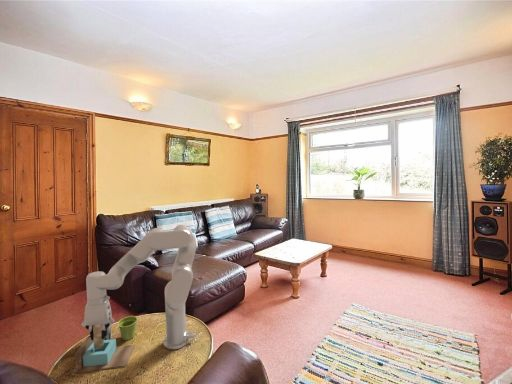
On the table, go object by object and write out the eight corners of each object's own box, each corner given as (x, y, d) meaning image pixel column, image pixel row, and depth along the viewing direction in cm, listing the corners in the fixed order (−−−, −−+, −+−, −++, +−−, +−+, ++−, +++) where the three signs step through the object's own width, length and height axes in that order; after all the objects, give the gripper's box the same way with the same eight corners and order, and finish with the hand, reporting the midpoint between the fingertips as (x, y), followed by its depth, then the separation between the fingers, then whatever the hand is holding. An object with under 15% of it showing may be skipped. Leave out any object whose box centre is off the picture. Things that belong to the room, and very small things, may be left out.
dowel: (105, 343, 121) (104, 318, 120) (101, 348, 117) (100, 323, 116) (96, 343, 120) (95, 319, 119) (92, 349, 116) (91, 324, 115)
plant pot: (139, 338, 134) (139, 322, 133) (119, 345, 129) (118, 328, 128) (136, 329, 142) (135, 314, 141) (117, 335, 136) (116, 319, 136)
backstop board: (135, 345, 128) (134, 330, 128) (125, 366, 115) (124, 349, 114) (89, 350, 125) (88, 334, 124) (73, 372, 111) (72, 355, 111)
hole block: (116, 348, 125) (115, 339, 125) (107, 364, 115) (107, 353, 115) (94, 351, 124) (93, 341, 123) (83, 366, 114) (82, 356, 113)
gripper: (119, 294, 122) (121, 331, 123) (81, 296, 119) (83, 334, 121) (113, 302, 115) (115, 341, 116) (72, 305, 112) (74, 345, 113)
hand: (98, 337), depth 118 cm, fingers closed on dowel, 4 cm apart
